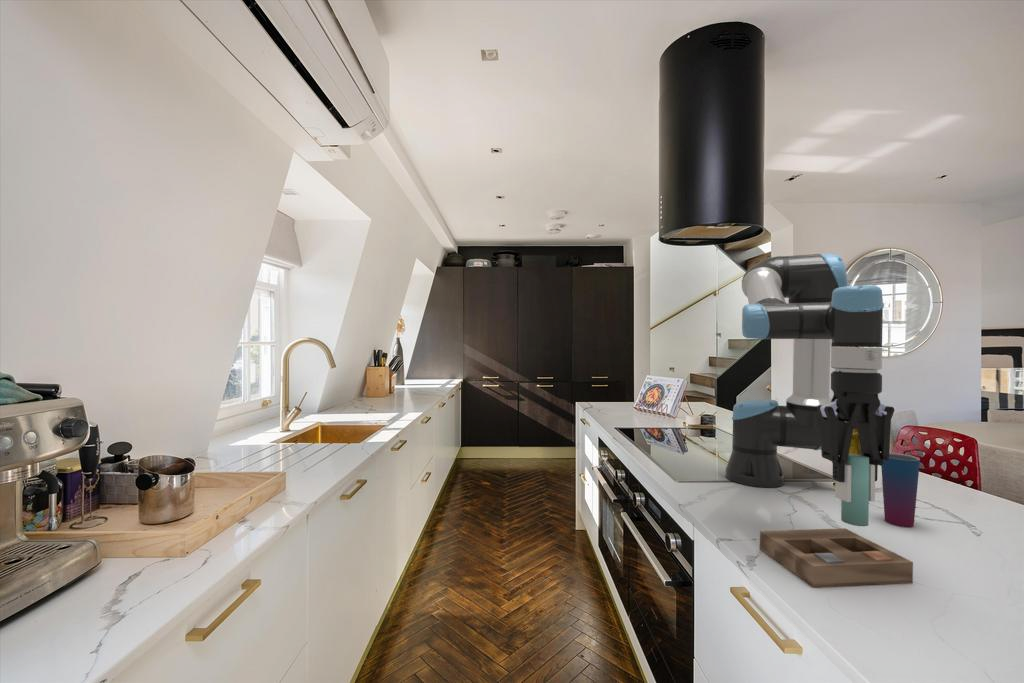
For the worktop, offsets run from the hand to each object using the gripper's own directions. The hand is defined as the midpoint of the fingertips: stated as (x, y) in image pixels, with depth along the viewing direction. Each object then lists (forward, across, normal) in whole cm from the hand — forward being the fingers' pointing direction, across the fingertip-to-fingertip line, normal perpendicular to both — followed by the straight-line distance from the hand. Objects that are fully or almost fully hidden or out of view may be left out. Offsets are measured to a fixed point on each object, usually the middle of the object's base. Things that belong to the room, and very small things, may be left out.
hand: (854, 498), depth 84 cm
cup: (+12, +27, +17) cm, 34 cm away
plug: (+4, 0, 0) cm, 4 cm away
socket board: (+12, -4, 0) cm, 13 cm away
